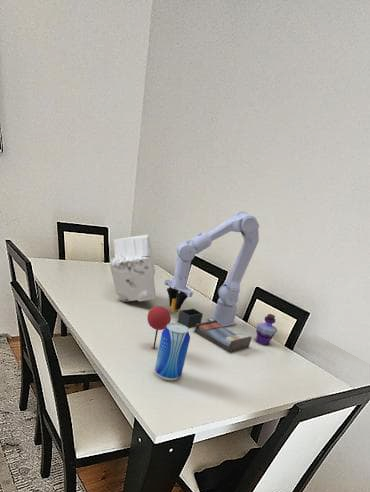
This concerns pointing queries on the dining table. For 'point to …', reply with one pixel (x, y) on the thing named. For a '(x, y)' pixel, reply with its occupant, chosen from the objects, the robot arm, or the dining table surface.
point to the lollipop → (158, 319)
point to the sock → (173, 305)
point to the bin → (190, 317)
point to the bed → (222, 336)
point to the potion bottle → (266, 330)
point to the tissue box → (133, 268)
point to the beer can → (172, 351)
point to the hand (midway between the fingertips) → (174, 307)
